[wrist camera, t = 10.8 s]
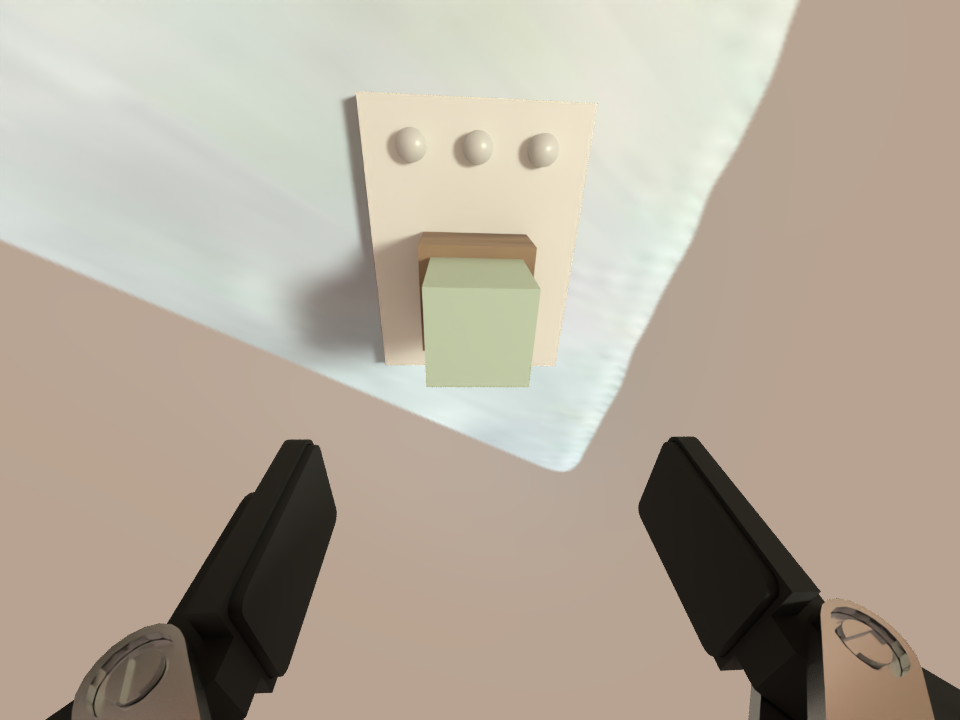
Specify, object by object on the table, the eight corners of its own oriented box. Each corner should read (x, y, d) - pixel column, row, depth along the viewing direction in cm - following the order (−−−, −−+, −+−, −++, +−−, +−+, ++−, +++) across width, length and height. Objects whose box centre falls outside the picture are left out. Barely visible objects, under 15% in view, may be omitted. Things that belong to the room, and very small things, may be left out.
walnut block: (423, 231, 24) (417, 244, 21) (526, 234, 25) (537, 247, 21) (427, 326, 28) (422, 350, 24) (517, 327, 28) (525, 351, 25)
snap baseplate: (359, 94, 21) (352, 89, 20) (592, 105, 22) (601, 102, 21) (388, 358, 30) (384, 368, 29) (552, 360, 31) (556, 369, 30)
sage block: (430, 257, 21) (422, 287, 16) (522, 259, 22) (540, 289, 17) (433, 340, 24) (426, 386, 19) (515, 341, 24) (528, 387, 19)
